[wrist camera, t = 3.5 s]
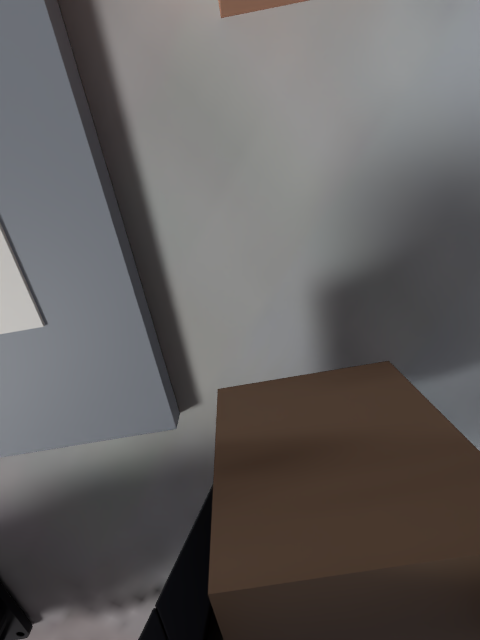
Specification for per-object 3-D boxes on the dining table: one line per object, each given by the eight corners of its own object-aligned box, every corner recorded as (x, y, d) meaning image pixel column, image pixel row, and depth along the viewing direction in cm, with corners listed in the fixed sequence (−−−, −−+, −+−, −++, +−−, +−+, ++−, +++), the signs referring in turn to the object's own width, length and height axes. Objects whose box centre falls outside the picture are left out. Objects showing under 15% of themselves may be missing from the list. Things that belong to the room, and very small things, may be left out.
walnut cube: (386, 485, 11) (510, 706, 6) (245, 507, 11) (259, 741, 6) (388, 360, 9) (568, 540, 4) (217, 389, 9) (207, 594, 4)
